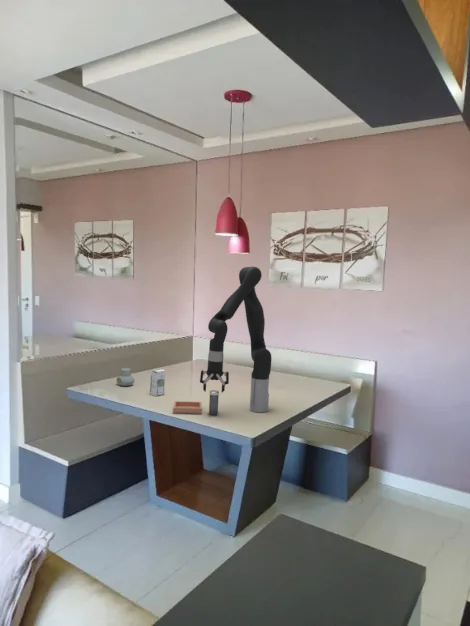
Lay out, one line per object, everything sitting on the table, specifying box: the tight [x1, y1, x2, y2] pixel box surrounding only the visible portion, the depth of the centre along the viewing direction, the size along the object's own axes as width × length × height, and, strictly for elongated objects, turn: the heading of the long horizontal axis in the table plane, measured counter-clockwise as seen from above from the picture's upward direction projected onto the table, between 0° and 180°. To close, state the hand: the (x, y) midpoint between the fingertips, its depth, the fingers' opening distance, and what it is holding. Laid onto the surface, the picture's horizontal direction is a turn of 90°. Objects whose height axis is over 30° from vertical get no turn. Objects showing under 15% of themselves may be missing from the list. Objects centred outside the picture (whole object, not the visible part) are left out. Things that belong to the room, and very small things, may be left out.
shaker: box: [208, 389, 220, 417], centre depth 233 cm, size 5×5×12 cm
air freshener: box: [116, 367, 135, 387], centre depth 284 cm, size 11×8×10 cm
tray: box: [172, 400, 203, 415], centre depth 238 cm, size 14×12×3 cm
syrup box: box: [149, 368, 166, 397], centre depth 265 cm, size 6×6×14 cm
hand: (213, 391), depth 233 cm, fingers open, 8 cm apart
